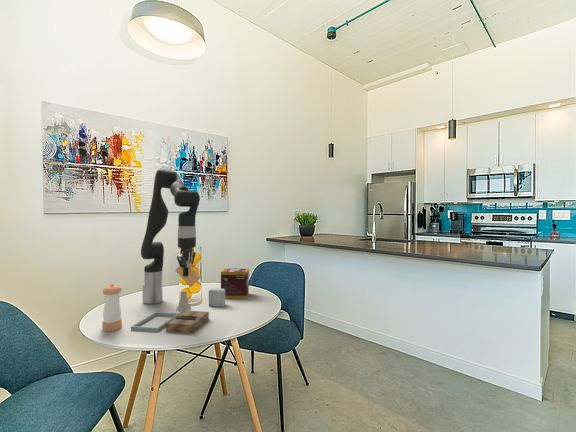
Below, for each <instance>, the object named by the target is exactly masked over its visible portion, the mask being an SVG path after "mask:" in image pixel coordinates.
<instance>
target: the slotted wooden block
mask: <svg viewBox="0 0 576 432" xmlns="http://www.w3.org/2000/svg"><path fill="white" fill-rule="evenodd" d="M209 313H210V312H209V311H200V310H188V311H186V310H184V311H183V312H179V314H178V315H177V316H175V317H174V318H172V317H171V318H172V319H171V318H170V319H171V320H170V321H168V320H167V321H168V322H167V323H166V327H165V333H177V334H178V333H181V334H195V333H196V331H197V330H199V329H200V327H203V326H204V325H205V323H207V322H208V321H209V319H210V317H209V316H210V315H209Z"/></svg>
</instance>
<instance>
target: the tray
mask: <svg viewBox="0 0 576 432" xmlns="http://www.w3.org/2000/svg"><path fill="white" fill-rule="evenodd" d="M178 314H180V312H179V313H175V312H164V311H163V312H161V311H160V312H159V311H155V312H154V313H152V314H149V315H148V316H146V317H145V318H143V319H142V320H140V321H138V322H136V323H134V324H133V325H131V326H130V332H133V331H136V332H137V331H139V332H151V333H159V332H160V331H161V330H163V329H164V328H166V323H167V322H168V321H170V320H171V319H172V318H174V317H175V316H177V315H178ZM156 317H166V318H167V317H171V318H170V319H167V320H166V321H165V322H164V323H162V324H161V325H158V327H151V326H143V325H145V324H146V323H147V322H149V321H151V320H153V319H154V318H156Z"/></svg>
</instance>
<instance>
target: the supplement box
mask: <svg viewBox="0 0 576 432" xmlns="http://www.w3.org/2000/svg"><path fill="white" fill-rule="evenodd" d="M249 271H250V269H249V268H224V269H223V270H221V272H220V289H225V299H247V298H248V296H249V292H250V291H249V287H250V283H249V282H250V281H249V277H250V272H249Z"/></svg>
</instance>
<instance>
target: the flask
mask: <svg viewBox="0 0 576 432" xmlns="http://www.w3.org/2000/svg"><path fill="white" fill-rule="evenodd" d="M179 293H180V297H179V302H178V304H177V307H176V311H177V312H179V313H181V312H183V311H184V310H186V311H191V310H192V307H191V305H190V303H189V300H188V297H187V295H188V294H187V293H188V290H187V291H186V290H182V291H180V292H179Z"/></svg>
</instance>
